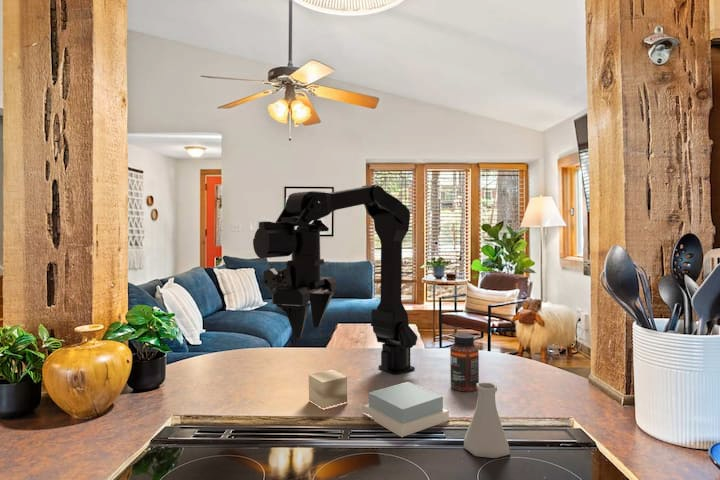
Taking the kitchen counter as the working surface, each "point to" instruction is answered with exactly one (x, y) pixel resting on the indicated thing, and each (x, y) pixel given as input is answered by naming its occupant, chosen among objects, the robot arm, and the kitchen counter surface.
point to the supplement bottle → (464, 363)
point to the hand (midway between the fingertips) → (307, 332)
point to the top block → (405, 402)
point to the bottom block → (409, 426)
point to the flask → (486, 426)
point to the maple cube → (327, 388)
